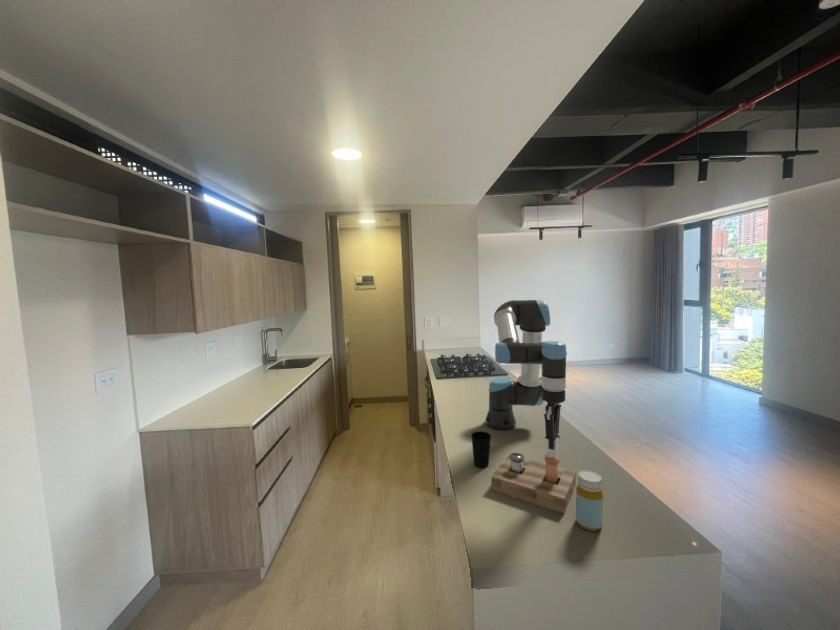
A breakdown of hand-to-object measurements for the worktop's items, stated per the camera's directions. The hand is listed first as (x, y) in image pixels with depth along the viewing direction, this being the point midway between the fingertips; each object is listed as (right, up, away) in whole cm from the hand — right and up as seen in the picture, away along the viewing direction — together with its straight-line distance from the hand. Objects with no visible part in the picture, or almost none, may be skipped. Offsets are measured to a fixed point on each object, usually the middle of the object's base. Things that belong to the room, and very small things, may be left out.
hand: (552, 456), depth 118 cm
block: (-5, -13, +5) cm, 14 cm away
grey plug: (-10, -12, +8) cm, 17 cm away
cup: (-20, -12, +21) cm, 31 cm away
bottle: (+6, -14, -14) cm, 21 cm away
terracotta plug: (0, -9, +1) cm, 9 cm away
